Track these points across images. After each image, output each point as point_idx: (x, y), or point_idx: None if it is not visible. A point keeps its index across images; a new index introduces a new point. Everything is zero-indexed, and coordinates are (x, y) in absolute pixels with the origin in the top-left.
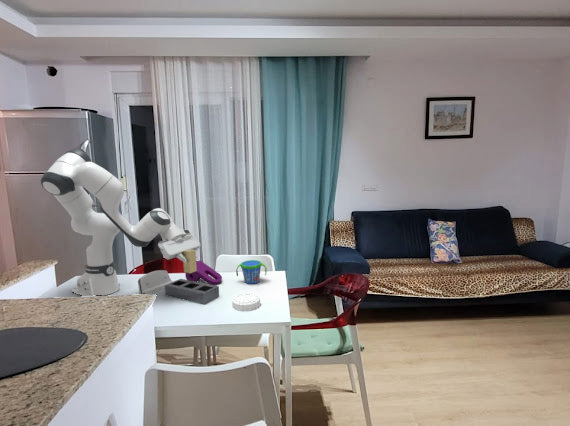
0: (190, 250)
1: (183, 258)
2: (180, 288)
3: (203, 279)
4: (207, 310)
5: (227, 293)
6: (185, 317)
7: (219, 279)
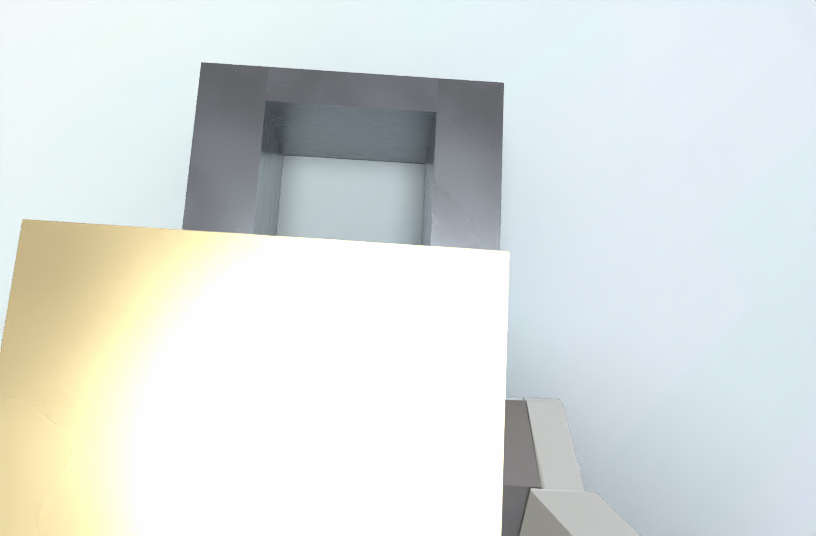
0: (216, 406)
1: (593, 499)
2: None
3: None
4: (582, 29)
5: (110, 90)
6: (801, 125)
7: None
